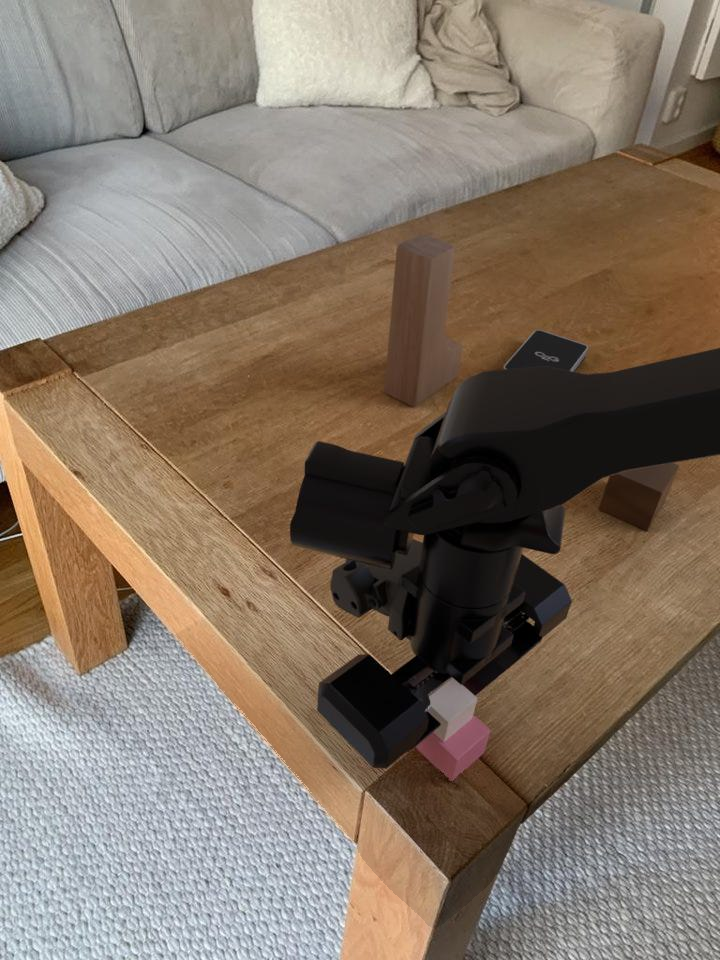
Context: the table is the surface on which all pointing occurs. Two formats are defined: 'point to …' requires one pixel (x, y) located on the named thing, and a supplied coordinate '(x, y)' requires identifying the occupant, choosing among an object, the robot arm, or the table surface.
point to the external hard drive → (548, 352)
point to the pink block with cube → (454, 730)
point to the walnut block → (638, 494)
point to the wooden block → (421, 321)
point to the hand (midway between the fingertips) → (436, 719)
